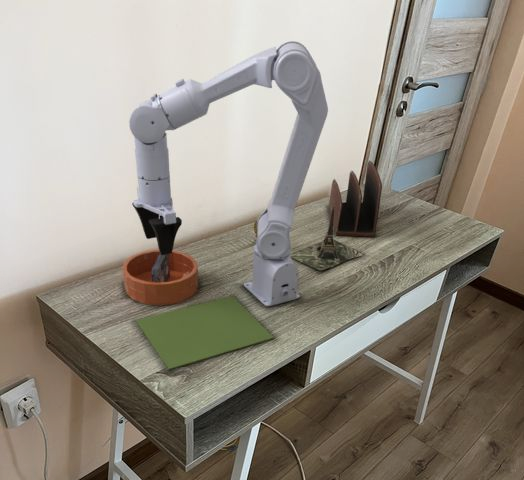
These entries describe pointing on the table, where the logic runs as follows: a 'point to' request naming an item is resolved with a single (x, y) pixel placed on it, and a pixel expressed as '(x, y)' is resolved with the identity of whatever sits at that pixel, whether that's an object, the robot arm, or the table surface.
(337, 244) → the eiffel tower figurine
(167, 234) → the robot arm
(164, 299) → the pot
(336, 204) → the letter holder
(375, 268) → the table surface
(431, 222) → the table surface
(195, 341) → the cloth
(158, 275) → the mini dv tape
